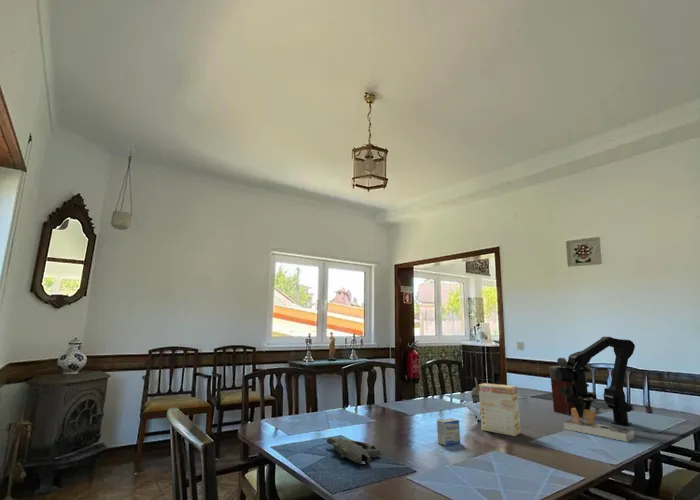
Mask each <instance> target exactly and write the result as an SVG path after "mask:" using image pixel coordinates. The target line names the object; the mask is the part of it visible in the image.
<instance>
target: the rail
mask: <svg viewBox="0 0 700 500" xmlns="http://www.w3.org/2000/svg"><path fill="white" fill-rule="evenodd" d="M563 428H564V430H568V431H572V432H576V431H577V433H581V432H582V433H583V434H586V433H588V434H587V435H591V434H593V436H596V435H597V437H601V436H602V437H601V438H607V439H612V440H615V439H616V441H620V440H621V442H626V443H628V442H629V441H632V440H633V439H635V434H634V430H632V429H627V428H621V427H617V426H613V425H606V424H599V423H595V422H594V423H590V422H587V421H583V420H581V421H579V420H574V418H572V419H569V420H566V421H563Z"/></svg>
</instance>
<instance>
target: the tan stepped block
mask: <svg viewBox="0 0 700 500" xmlns="http://www.w3.org/2000/svg"><path fill="white" fill-rule="evenodd" d="M570 416H573V418H572V419H574V420H579V421H582V420H581V417H579V415H578V413H577V410H576V408H572V409H571V415H570ZM582 418H584V419H586V422H590V423H595V419H597V418H596V411H595V410H591V409H590V410H585V409H584V412H583V416H582Z"/></svg>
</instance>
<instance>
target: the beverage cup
mask: <svg viewBox="0 0 700 500" xmlns="http://www.w3.org/2000/svg"><path fill="white" fill-rule="evenodd" d="M474 381H475V387H473V388H472V391H471V394H470V395H471V399H472V402H473V403H477V402H480V400H479V385H478V382H477V377H474ZM473 403H472V404H473ZM474 416H475V420H476V419H477V416H476V415H475V414H474Z"/></svg>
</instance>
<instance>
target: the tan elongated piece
mask: <svg viewBox="0 0 700 500" xmlns="http://www.w3.org/2000/svg"><path fill="white" fill-rule="evenodd" d="M326 443H328V445H331V446H333V447H332V450H333V451H337V453H338V454H340V458H347V459H349V460H350V461H352V462H353V461H354V462H353V463H355V462H356V463H355V464H357V463H359V464H361V463H362V462H361V461H365V463H368V464H370V463H371V462H372V458H373V457H372V456H377V455H380V456H381V455H382V454H381V450H380V449H377V448H376V446H375V445H371V444H369V443H366V442H364V441H358V440H349V439H346V438H341V436H340V437H337V438H335V437H328V438H327V439H326ZM370 457H371V458H370ZM377 457H378V456H377ZM359 464H358V465H359Z"/></svg>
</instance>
